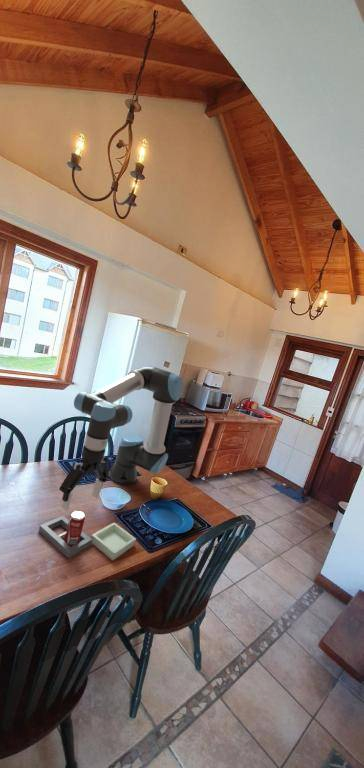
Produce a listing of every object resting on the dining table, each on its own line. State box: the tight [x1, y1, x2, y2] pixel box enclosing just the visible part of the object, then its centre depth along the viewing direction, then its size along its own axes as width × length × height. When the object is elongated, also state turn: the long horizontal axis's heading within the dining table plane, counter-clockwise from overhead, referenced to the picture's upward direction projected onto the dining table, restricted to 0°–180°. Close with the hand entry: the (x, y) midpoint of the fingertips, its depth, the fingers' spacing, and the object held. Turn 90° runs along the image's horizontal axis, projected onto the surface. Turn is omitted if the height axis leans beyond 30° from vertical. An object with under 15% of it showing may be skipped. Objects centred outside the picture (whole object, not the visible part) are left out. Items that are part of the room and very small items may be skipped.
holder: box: [38, 515, 92, 559], centre depth 113 cm, size 17×10×2 cm, turn 59°
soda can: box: [64, 510, 86, 547], centre depth 111 cm, size 5×5×12 cm
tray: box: [90, 522, 137, 561], centre depth 117 cm, size 12×12×3 cm
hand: (80, 502), depth 109 cm, fingers open, 13 cm apart
